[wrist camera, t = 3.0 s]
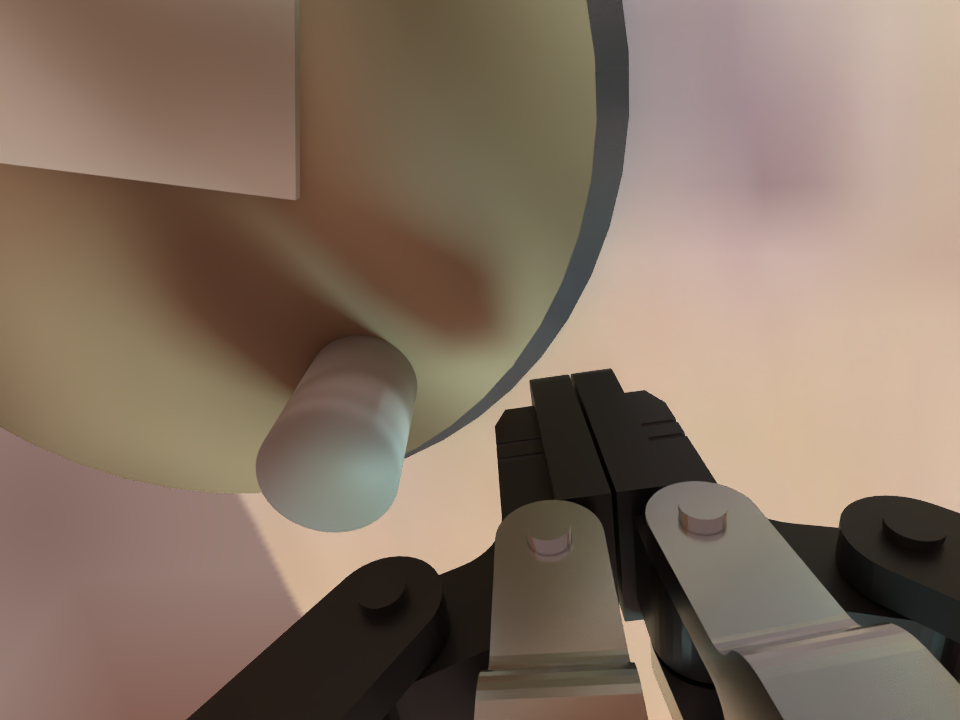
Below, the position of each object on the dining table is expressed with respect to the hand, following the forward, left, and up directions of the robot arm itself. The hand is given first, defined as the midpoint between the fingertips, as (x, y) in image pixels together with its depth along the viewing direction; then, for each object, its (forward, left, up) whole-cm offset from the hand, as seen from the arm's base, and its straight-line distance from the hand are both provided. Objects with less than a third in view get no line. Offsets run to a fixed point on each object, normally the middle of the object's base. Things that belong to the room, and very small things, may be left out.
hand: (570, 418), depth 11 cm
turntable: (+4, -8, -4) cm, 10 cm away
